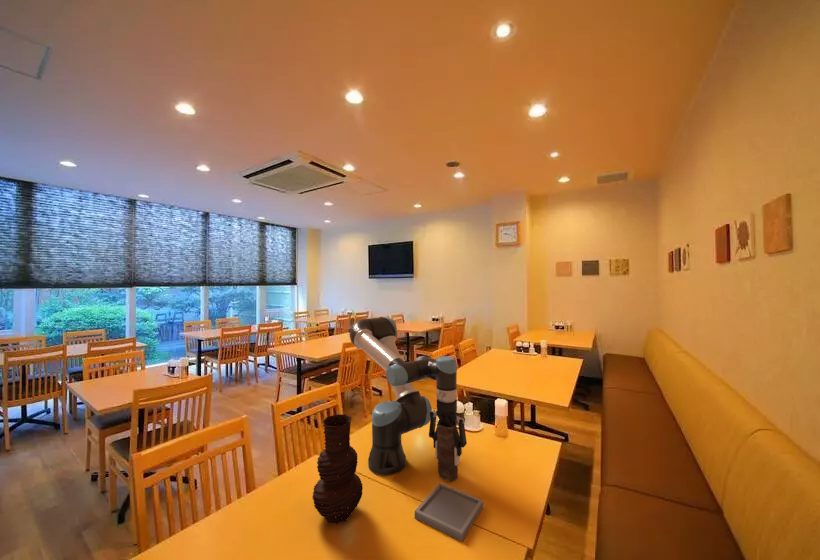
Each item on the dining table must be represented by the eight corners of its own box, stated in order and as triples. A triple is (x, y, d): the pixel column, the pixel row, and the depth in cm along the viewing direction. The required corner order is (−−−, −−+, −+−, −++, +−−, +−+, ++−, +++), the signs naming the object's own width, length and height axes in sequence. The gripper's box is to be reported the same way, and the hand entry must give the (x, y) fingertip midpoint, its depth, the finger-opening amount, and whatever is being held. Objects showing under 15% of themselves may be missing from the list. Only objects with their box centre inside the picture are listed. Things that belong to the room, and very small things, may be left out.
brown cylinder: (434, 479, 116) (434, 425, 116) (440, 468, 123) (440, 417, 123) (455, 484, 113) (454, 429, 113) (459, 473, 120) (459, 420, 120)
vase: (321, 497, 108) (320, 409, 108) (366, 498, 107) (365, 409, 107) (305, 534, 92) (303, 431, 92) (357, 534, 92) (356, 431, 92)
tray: (414, 518, 98) (414, 510, 98) (439, 489, 111) (439, 482, 111) (462, 541, 89) (462, 533, 89) (483, 507, 102) (483, 500, 102)
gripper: (418, 396, 121) (419, 456, 121) (467, 408, 109) (468, 474, 109) (428, 391, 127) (429, 447, 127) (476, 401, 116) (476, 463, 116)
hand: (447, 460), depth 118 cm, fingers closed on brown cylinder, 7 cm apart
